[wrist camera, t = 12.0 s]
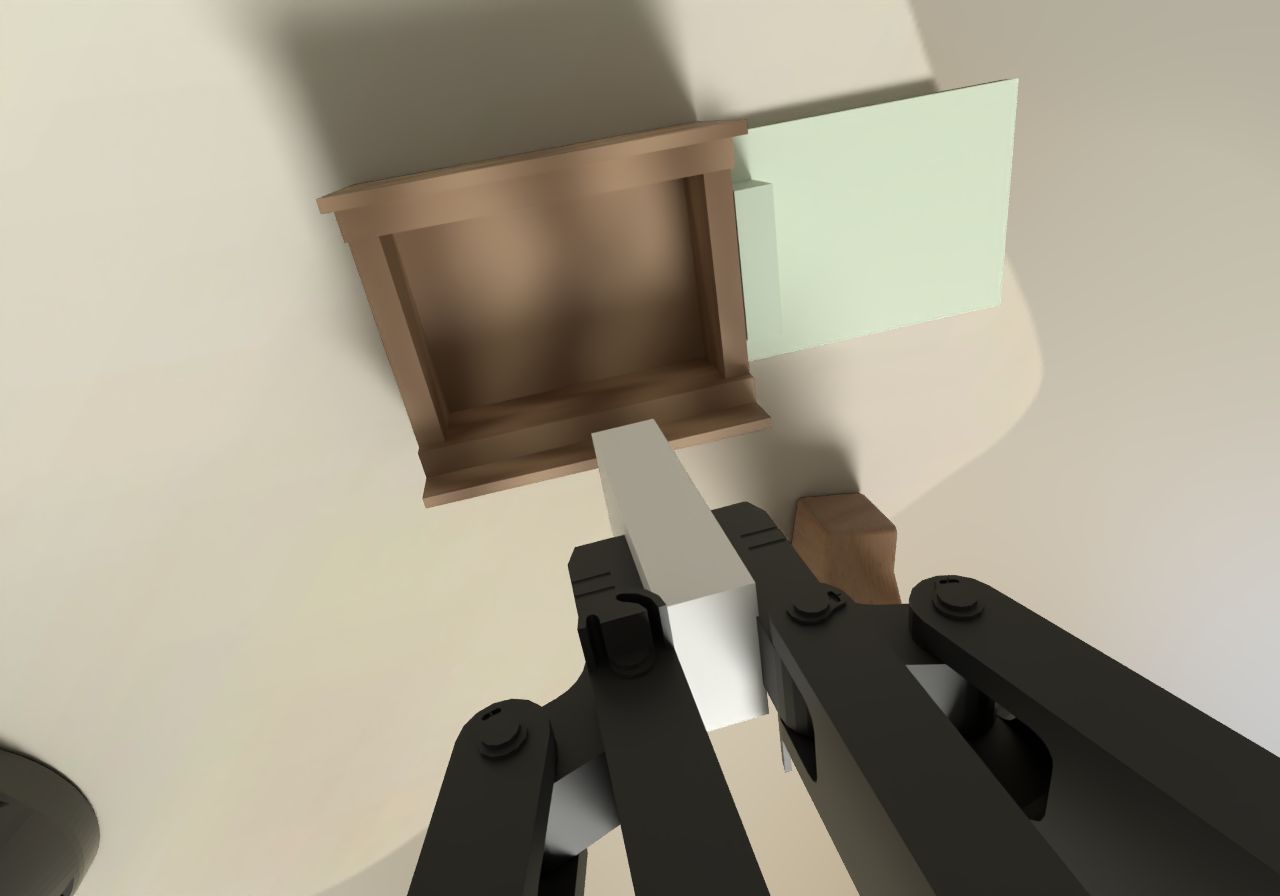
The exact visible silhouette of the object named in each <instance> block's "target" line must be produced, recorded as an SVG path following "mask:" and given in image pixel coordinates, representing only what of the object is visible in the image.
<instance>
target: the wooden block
mask: <svg viewBox="0 0 1280 896" xmlns="http://www.w3.org/2000/svg"><path fill="white" fill-rule="evenodd" d="M896 539H897V530H896V527H895V525H894V524H893V523H892V522H891V521H890V520H889V519H888V518H887V517H886V516H885V515H884V514H883V513H882V512H881V511H880V510H879V509H878V508H877V507H876V506H875V505H874V504H873V503H871V502H870V501H869V500H868V499H867V498H866V497H865V496H864V495H863V494H860V493H852V494H839V495H827V496H815V497H803V498H800V499H799V500H798V502H797V508H796V516H795V523H794V531H793V538H792V547H793V548H794V549H795V550H796V552H797V553H798V554H799V556H800V557H801V558H802V560H803V561H804V562H805V564H806V565H807V566H808V567H809V569H810V570H811V571H812V573H813V574H814V575H815V577H816V578H817V579H818V581H819V582H820V583H826V584H829V585H832V586H834V587H837V588H839V589H841V590H842V591H844V592H845V593H846V594H847V595H849V596H850V597H851V598H852V599H853V601H854V602H855V603H860V604H870V605H886V604H901V599H900V596H899V591H898V587H897V583H896V579H895V575H894V562H895V551H896Z"/></svg>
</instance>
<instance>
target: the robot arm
mask: <svg viewBox="0 0 1280 896" xmlns="http://www.w3.org/2000/svg"><path fill="white" fill-rule="evenodd" d="M591 435H592V439H593V444H594V449H595V453H596V458H597V463H598V467H599V472H600V477H601V482H602V486H603V491H604V496H605V500H606V505H607V510H608V514H609V519H610V524H611V529H612V532H613V535H614V537H613V538H609V539H605V540H601V541H597V542H594V543H590V544H586V545H582V546H578V547H575V548H574V551H573V553H572V556H571V558H570V561H569V563H568V569H569V574H570V579H571V583H572V588H573V593H574V598H575V603H576V607H577V612H578V617H579V618H578V629H577V630H578V634H579V638H580V641H581V645H582V649H583V653H584V657H585V661H586V663H585V666H584V670H583V672H582V674H581V675H580V677H579V678H578V680H577V681H576V683H575V684H574V685H573V686H572V687H571V688H570V689H569V690H568V691H566V692H565V693H563V694H562V695H561V696H559V697H558V698H556V699H555V700H553V701H551V702H549V703H548V704H546V705H544V706H543V707H541V706H540V705H538V704H536V703H533V702H531V701H529V700H523V699H509V700H505V701H501V702H497V703H494V704H492V705H490V706H488V707H486V708H485V709H483V710H481V711H479V712H478V713H476V714H475V715H474V716H473V717H472V718H471V719H470V720H469V721H468V722H467V723H466V724H465V725H464V727H463V728H462V730H461V732H460V734H459V736H458V738H457V740H456V742H455V745H454V748H453V751H452V754H451V758H450V761H449V764H448V767H447V770H446V773H445V777H444V780H443V783H442V786H441V789H440V793H439V796H438V799H437V802H436V805H435V808H434V812H433V815H432V818H431V821H430V824H429V828H428V831H427V834H426V837H425V840H424V843H423V847H422V850H421V853H420V856H419V860H418V863H417V866H416V869H415V872H414V876H413V878H412V882H411V885H410V888H409V891H408V894H407V896H584V887H585V875H586V865H587V854H588V853H587V847H589V846H590V845H591V844H593V843H594V842H596V841H597V840H599V839H600V838H601V837H603V836H604V835H606V834H607V833H608V832H610V831H611V830H613V829H614V828H616V827H617V826H619V825H621V829H622V834H623V839H624V844H625V848H626V853H627V858H628V863H629V868H630V872H631V877H632V882H633V887H634V891H635V896H770V893H769V891H768V888H767V886H766V883H765V880H764V878H763V875H762V873H761V870H760V868H759V865H758V863H757V860H756V857H755V855H754V852H753V850H752V847H751V844H750V842H749V839H748V837H747V834H746V831H745V829H744V826H743V824H742V821H741V819H740V816H739V813H738V811H737V808H736V806H735V803H734V801H733V798H732V795H731V793H730V790H729V788H728V785H727V783H726V780H725V778H724V775H723V772H722V770H721V767H720V765H719V762H718V759H717V757H716V754H715V752H714V749H713V746H712V744H711V741H710V739H709V736H708V734H707V732H709V731H712V730H715V729H719V728H722V727H725V726H729V725H732V724H736V723H739V722H742V721H745V720H749V719H752V718H755V717H759V716H762V715H766V714H769V709H768V699H767V692H768V694H769V696H770V698H771V700H772V702H773V704H774V706H775V708H776V710H777V712H778V721H779V731H780V741H781V752H782V761H783V765H784V769H785V772H789V771H792V768H791V759H792V761H793V763H794V765H795V767H796V769H797V771H798V773H799V775H800V776H801V779H802V780H803V783H804V785H805V787H806V789H807V791H808V793H809V795H810V796H811V798H812V801H813V802H814V805H815V807H816V809H817V810H818V813H819V814H820V817H821V819H822V821H823V823H824V825H825V826H826V829H827V831H828V833H829V835H830V837H831V838H832V841H833V843H834V845H835V847H836V849H837V851H838V853H839V855H840V857H841V859H842V861H843V863H844V865H845V867H846V869H847V871H848V873H849V875H850V877H851V879H852V881H853V883H854V885H855V886H856V889H857V891H858V893H859V895H860V896H1280V758H1279V757H1277V756H1276V755H1274V754H1273V753H1271V752H1269V751H1268V750H1266V749H1264V748H1262V747H1261V746H1259V745H1257V744H1256V743H1254V742H1252V741H1251V740H1249V739H1247V738H1246V737H1244V736H1242V735H1240V734H1239V733H1237V732H1235V731H1234V730H1232V729H1230V728H1229V727H1227V726H1225V725H1223V724H1222V723H1220V722H1218V721H1217V720H1215V719H1213V718H1212V717H1210V716H1208V715H1207V714H1205V713H1203V712H1202V711H1200V710H1198V709H1197V708H1195V707H1193V706H1191V705H1190V704H1188V703H1187V702H1185V701H1183V700H1181V699H1180V698H1178V697H1176V696H1175V695H1173V694H1171V693H1170V692H1168V691H1166V690H1165V689H1163V688H1161V687H1159V686H1158V685H1156V684H1154V683H1153V682H1151V681H1149V680H1148V679H1146V678H1144V677H1143V676H1141V675H1139V674H1138V673H1136V672H1134V671H1132V670H1130V669H1129V668H1127V667H1126V666H1124V665H1122V664H1121V663H1119V662H1117V661H1116V660H1114V659H1112V658H1111V657H1109V656H1107V655H1105V654H1104V653H1102V652H1100V651H1099V650H1097V649H1095V648H1094V647H1092V646H1090V645H1089V644H1087V643H1085V642H1084V641H1082V640H1080V639H1079V638H1077V637H1075V636H1074V635H1072V634H1070V633H1068V632H1067V631H1065V630H1063V629H1062V628H1060V627H1058V626H1057V625H1055V624H1053V623H1051V622H1050V621H1048V620H1047V619H1045V618H1043V617H1041V616H1040V615H1038V614H1036V613H1035V612H1033V611H1031V610H1030V609H1028V608H1026V607H1025V606H1023V605H1021V604H1020V603H1018V602H1016V601H1014V600H1013V599H1011V598H1009V597H1008V596H1006V595H1004V594H1002V593H1001V592H999V591H998V590H996V589H994V588H992V587H991V586H989V585H987V584H984V583H982V582H980V581H977V580H975V579H972V578H967V577H962V576H957V575H947V576H946V575H945V576H935V577H932V578H928V579H925V580H922V581H921V582H920V583H918V584H917V585H916V586H915V587H914V588H913V589H912V591H911V595H910V597H909V604H886V605H870V604H860V603H855V602H854V601H853V599H852V598H851V597H850V596H849V595H847V594H846V593H845V592H844V591H842V590H841V589H839V588H837V587H834V586H832V585H829V584H826V583H820V582H819V581H818V579H817V578H816V577H815V575H814V574H813V573H812V571H811V570H810V569H809V567H808V566H807V565H806V564H805V562H804V561H803V560H802V558H801V557H800V556H799V554H798V553H797V552H796V550H795V549H794V548H793V547H792V545H791V544H790V543H789V541H786V537H785V536H784V535H783V534H782V532H781V531H780V530H779V529H777V526H776V524H775V523H774V522H773V520H772V519H771V518H770V517H769V515H768V514H767V513H766V511H764V510H762V509H760V508H758V507H756V506H754V505H752V504H750V503H748V502H747V501H745V502H741V503H738V504H734V505H730V506H726V507H722V508H718V509H714V510H710V509H709V507H708V506H707V504H706V502H705V501H704V499H703V498H702V496H701V494H700V493H699V491H698V489H697V488H696V486H695V485H694V483H693V481H692V480H691V478H690V477H689V475H688V473H687V472H686V470H685V469H684V467H683V465H682V464H681V462H680V460H679V459H678V457H677V456H676V454H675V452H674V451H673V449H672V448H671V446H670V444H669V443H668V441H667V440H666V438H665V436H664V435H663V433H662V431H661V430H660V428H659V427H658V425H657V423H656V422H655V420H654V419H650V420H646V421H642V422H638V423H633V424H629V425H625V426H621V427H617V428H612V429H608V430H604V431H600V432H596V433H591ZM99 841H100V832H99V825H98V822H97V819H96V816H95V814H94V812H93V810H92V808H91V806H90V805H89V803H88V802H87V800H86V799H85V798H84V797H83V796H82V794H81V793H80V792H79V791H78V790H77V789H76V788H75V787H74V786H72V785H71V784H70V783H69V782H68V781H66V780H65V779H63V778H62V777H61V776H59V775H58V774H56V773H54V772H53V771H51V770H49V769H48V768H46V767H44V766H42V765H40V764H38V763H36V762H34V761H31V760H29V759H27V758H24V757H22V756H19V755H16V754H13V753H10V752H7V751H3V750H0V896H73V895H74V894H75V892H76V891H77V889H78V887H79V886H80V884H81V882H82V880H83V878H84V876H85V875H86V873H87V871H88V869H89V867H90V866H91V864H92V862H93V860H94V858H95V856H96V854H97V850H98V847H99Z"/></svg>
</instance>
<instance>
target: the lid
mask: <svg viewBox="0 0 1280 896" xmlns="http://www.w3.org/2000/svg"><path fill="white" fill-rule="evenodd" d="M1017 92H1018V78H1015V79H1004V80H998V81H993V82H988V83H982V84H977V85H972V86H966V87H962V88H956V89H951V90H945V91H940V92H938V93H933V94H928V95H923V96H917V97H912V98H907V99H902V100H896V101H891V102H886V103H880V104H875V105H870V106H865V107H859V108H854V109H849V110H844V111H838V112H833V113H828V114H823V115H817V116H812V117H807V118H802V119H796V120H791V121H786V122H781V123H775V124H770V125H765V126H760V127H754V128H749V129H748V134H746V135H740V136H735V137H732V140H733V151H734V163H735V168H731V178H732V189H733V200H734V211H735V221H736V232H737V243H738V254H739V265H740V276H741V287H742V297H743V308H744V319H745V330H746V341H747V352H748V362H750V361H754V360H759V359H763V358H768V357H772V356H776V355H781V354H785V353H790V352H794V351H799V350H803V349H808V348H812V347H816V346H821V345H825V344H830V343H834V342H839V341H843V340H848V339H852V338H856V337H861V336H865V335H870V334H874V333H879V332H883V331H887V330H892V329H896V328H901V327H905V326H910V325H914V324H919V323H923V322H927V321H932V320H936V319H941V318H945V317H950V316H954V315H959V314H963V313H967V312H972V311H976V310H981V309H985V308H990V307H994V306H999V305H1000V303H1001V290H1002V278H1003V266H1004V253H1005V241H1006V228H1007V216H1008V204H1009V192H1010V179H1011V167H1012V154H1013V141H1014V130H1015V117H1016V105H1017Z"/></svg>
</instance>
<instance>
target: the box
mask: <svg viewBox="0 0 1280 896" xmlns="http://www.w3.org/2000/svg"><path fill="white" fill-rule="evenodd" d="M746 134H748V125H747V120H723V121H697V122H692V123H686V124H681V125H675V126H670V127H665V128H659V129H654V130H648V131H643V132H637V133H632V134H627V135H621V136H616V137H610V138H605V139H599V140H594V141H589V142H583V143H578V144H572V145H567V146H561V147H556V148H551V149H545V150H540V151H534V152H529V153H523V154H518V155H513V156H507V157H502V158H496V159H491V160H485V161H480V162H475V163H469V164H464V165H458V166H453V167H447V168H442V169H436V170H431V171H426V172H420V173H415V174H409V175H404V176H398V177H393V178H388V179H382V180H377V181H371V182H366V183H360V184H355V185H351V186H349V187H346V188H344V189H341V190H339V191H336V192H334V193H331V194H328V195H326V196H323V197H321V198H318V199H316V202H317V205H318V207H319V210H320V213H321V214H325V213H330V212H334V213H335V216H336V219H337V222H338V225H339V228H340V230H341V233H342V236H343V239H344V242H345V243H346V242H348V243H349V246H350V248H351V251H352V254H353V257H354V260H355V263H356V266H357V269H358V272H359V275H360V277H361V280H362V283H363V286H364V289H365V292H366V295H367V298H368V301H369V303H370V306H371V309H372V312H373V315H374V318H375V321H376V324H377V327H378V330H379V332H380V335H381V338H382V341H383V344H384V347H385V350H386V353H387V356H388V359H389V361H390V364H391V367H392V370H393V373H394V376H395V379H396V382H397V385H398V387H399V390H400V393H401V396H402V399H403V402H404V405H405V408H406V411H407V414H408V416H409V419H410V422H411V425H412V428H413V431H414V434H415V437H416V440H417V443H418V445H419V451H418V455H419V458H420V460H421V463H422V466H423V469H424V472H425V475H426V483H425V488H424V493H423V502H424V505H425V507H426V508H430V507H434V506H438V505H443V504H447V503H451V502H456V501H460V500H464V499H468V498H473V497H477V496H481V495H485V494H490V493H494V492H498V491H502V490H507V489H511V488H515V487H520V486H524V485H528V484H532V483H537V482H541V481H545V480H549V479H554V478H558V477H562V476H566V475H571V474H575V473H579V472H584V471H588V470H592V469H596V468H599V467H598V463H597V458H596V453H595V449H594V444H593V439H592V435H591V433H596V432H600V431H604V430H608V429H612V428H617V427H621V426H625V425H629V424H633V423H638V422H642V421H646V420H650V419H654V420H655V422H656V423H657V425H658V427H659V428H660V430H661V431H662V433H663V435H664V436H665V438H666V440H667V441H668V443H669V444H670V446H671V448H672V449H673V450H677V449H682V448H686V447H690V446H694V445H699V444H703V443H707V442H711V441H716V440H720V439H724V438H729V437H733V436H737V435H741V434H746V433H750V432H754V431H758V430H763V429H767V428H771V417H770V416H769V415H768V414H767V413H766V412H765V411H764V410H763V409H762V408H761V407H760V406H759V405H758V404H757V403H756V398H755V386H754V377H753V376H752V375H751V374H750V373H749V362H748V352H747V341H746V330H745V319H744V308H743V297H742V287H741V276H740V265H739V254H738V243H737V232H736V221H735V211H734V200H733V189H732V178H731V168H735V163H734V151H733V140H732V137H735V136H740V135H746Z"/></svg>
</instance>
